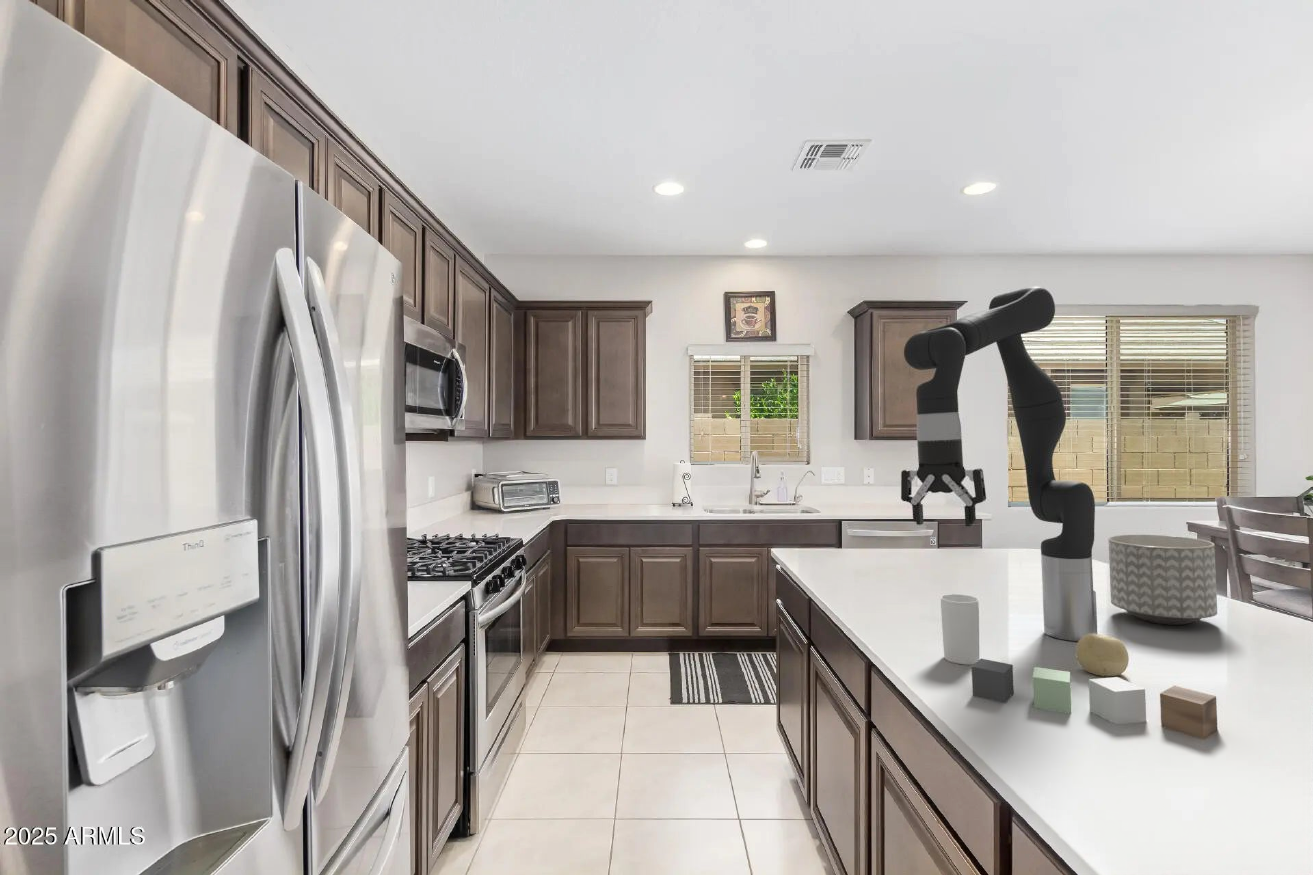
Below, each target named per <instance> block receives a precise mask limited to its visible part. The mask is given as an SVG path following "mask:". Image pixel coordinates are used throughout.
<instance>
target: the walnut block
mask: <svg viewBox="0 0 1313 875" xmlns="http://www.w3.org/2000/svg"><path fill="white" fill-rule="evenodd" d="M1159 699H1160V700H1159V702H1160V703H1159V704H1160V706H1159V707H1160V723H1161V724H1160V726H1161V727H1162V728H1164V729H1168V730H1171V731H1175V732H1177V733H1182V734H1184V735H1188V736H1191V737H1194V738H1196V739H1197V738H1198V739H1201V740H1205V739H1207V738H1209V737H1210V736H1211V735H1212V734H1215V733H1216V732H1217V731H1218V710H1217V709H1218V708H1217V707H1218V706H1217V705H1218V704H1217V696H1216V695H1213V694H1208V693H1205V692H1201V691H1197V690H1194V689H1193V690H1192V689H1190V688H1187V687H1181V686H1177V685H1173V686H1171V687H1169V688H1167V689H1166V690H1163V691H1161V692H1160V693H1159Z"/></svg>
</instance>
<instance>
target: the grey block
mask: <svg viewBox="0 0 1313 875" xmlns="http://www.w3.org/2000/svg"><path fill="white" fill-rule="evenodd" d="M1088 695H1089V696H1088V697H1089V698H1088V700H1089V711H1090V712H1092V713H1094V714H1096V715H1098V716H1100V717H1101V718H1103V719H1104V720H1106V721H1109V722H1111V723H1112V724H1114V725H1125V724H1127V725H1128V724H1136V723H1137V724H1138V723H1146V722H1147V709H1146V708H1147V707H1146V706H1147V705H1146V704H1147V703H1146V702H1147V701H1146V689H1145V688H1144V687H1141V686H1138V685H1136V684H1134V683H1132V682H1129V681H1127V680H1125V679H1124V678H1121V677H1118V676H1111V677H1105V678H1104V677H1101V678H1092V679H1091V678H1090V679H1088Z"/></svg>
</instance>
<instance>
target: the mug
mask: <svg viewBox="0 0 1313 875" xmlns="http://www.w3.org/2000/svg"><path fill="white" fill-rule="evenodd" d="M979 606H980V605H979V598H977V597H976V596H972V595H968V594H959V593H958V594H957V593H956V594H955V593H952V594H949V593H947V594H943V595H940V610H941V613H940V614H941V628H942V643H943V644H942V645H943V654H944V655H943V656H944V659H945V660H946V661H948V662H949V663H954V664H957V665H968V666H969V665H974V664H975V663H976V662H977V661H979V660H980V608H979Z"/></svg>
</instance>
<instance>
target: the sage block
mask: <svg viewBox="0 0 1313 875" xmlns="http://www.w3.org/2000/svg"><path fill="white" fill-rule="evenodd" d="M1071 689H1072V688H1071V672H1070V671H1065V670H1058V669H1057V670H1056V669H1050V668H1044V667H1036V666H1034V667H1033V672H1032V696H1033V708H1036V709H1040V710H1046V711H1052V712H1058V713H1064V714H1069V715H1071V714H1072V690H1071Z"/></svg>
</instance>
